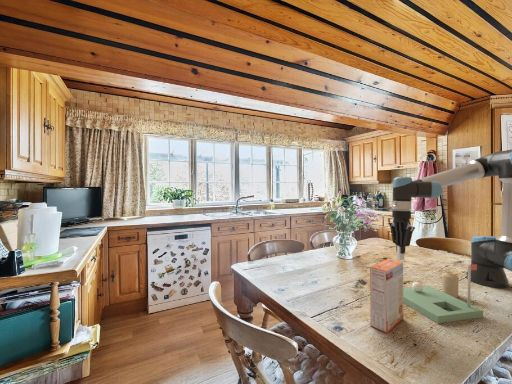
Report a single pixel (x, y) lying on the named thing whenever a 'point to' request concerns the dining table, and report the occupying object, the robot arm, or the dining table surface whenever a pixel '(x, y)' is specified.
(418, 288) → the ball
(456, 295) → the candle
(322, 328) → the dining table surface
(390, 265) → the cracker box
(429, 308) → the green
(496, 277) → the robot arm
